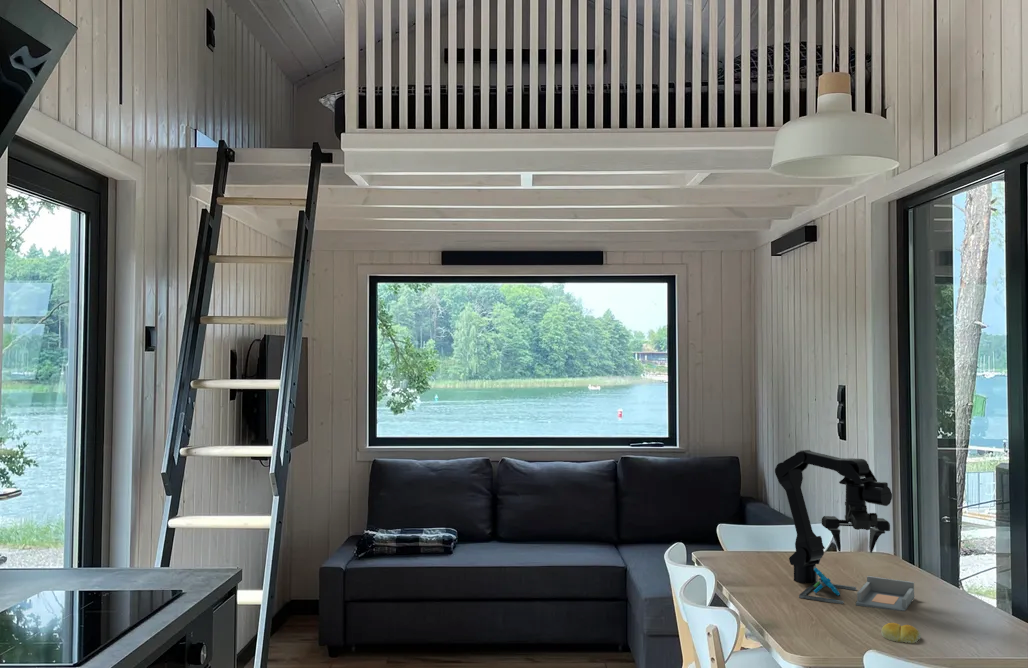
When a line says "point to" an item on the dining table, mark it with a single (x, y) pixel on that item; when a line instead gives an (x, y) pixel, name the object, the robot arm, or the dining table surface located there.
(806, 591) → the frame
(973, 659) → the dining table surface
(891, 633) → the bread roll
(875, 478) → the robot arm
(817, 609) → the dining table surface
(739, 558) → the dining table surface
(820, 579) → the gear
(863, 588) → the grey open tray
